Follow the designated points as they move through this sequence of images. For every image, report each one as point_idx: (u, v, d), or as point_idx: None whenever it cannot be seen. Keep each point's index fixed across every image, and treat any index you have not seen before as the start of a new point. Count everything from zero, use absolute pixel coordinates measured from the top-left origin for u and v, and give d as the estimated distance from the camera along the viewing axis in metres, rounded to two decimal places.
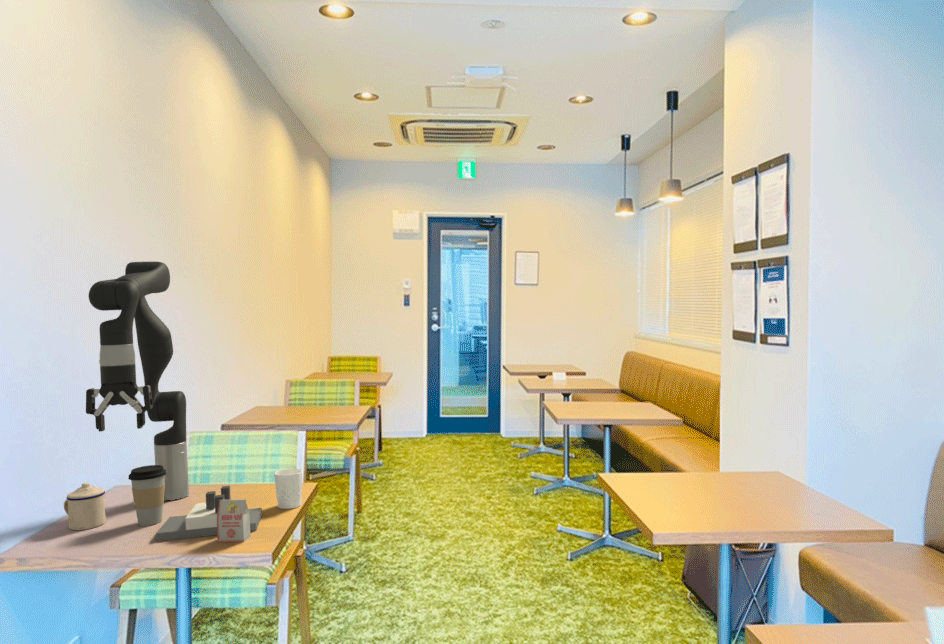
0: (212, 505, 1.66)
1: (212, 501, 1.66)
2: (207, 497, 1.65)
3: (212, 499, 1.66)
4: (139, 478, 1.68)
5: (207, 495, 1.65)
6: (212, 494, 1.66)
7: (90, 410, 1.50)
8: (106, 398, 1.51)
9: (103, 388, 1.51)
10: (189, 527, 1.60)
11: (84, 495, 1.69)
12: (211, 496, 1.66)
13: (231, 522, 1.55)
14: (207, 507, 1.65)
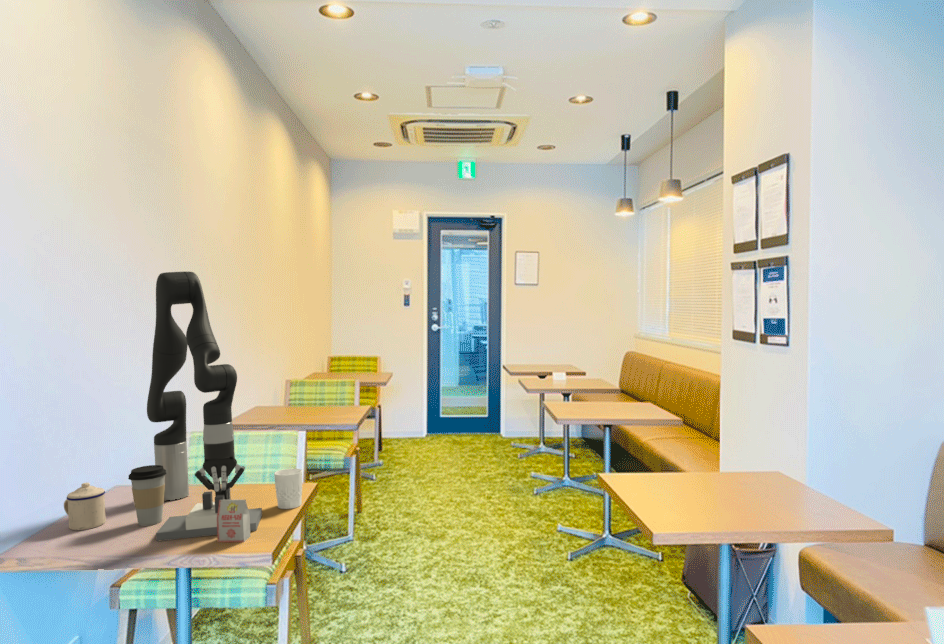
0: (209, 505, 1.65)
1: (209, 501, 1.65)
2: (204, 497, 1.65)
3: (209, 499, 1.65)
4: (139, 478, 1.68)
5: (204, 495, 1.65)
6: (209, 494, 1.66)
7: (210, 485, 1.66)
8: (213, 474, 1.65)
9: (204, 464, 1.65)
10: (189, 527, 1.60)
11: (84, 495, 1.69)
12: (208, 496, 1.65)
13: (231, 522, 1.55)
14: (204, 507, 1.65)
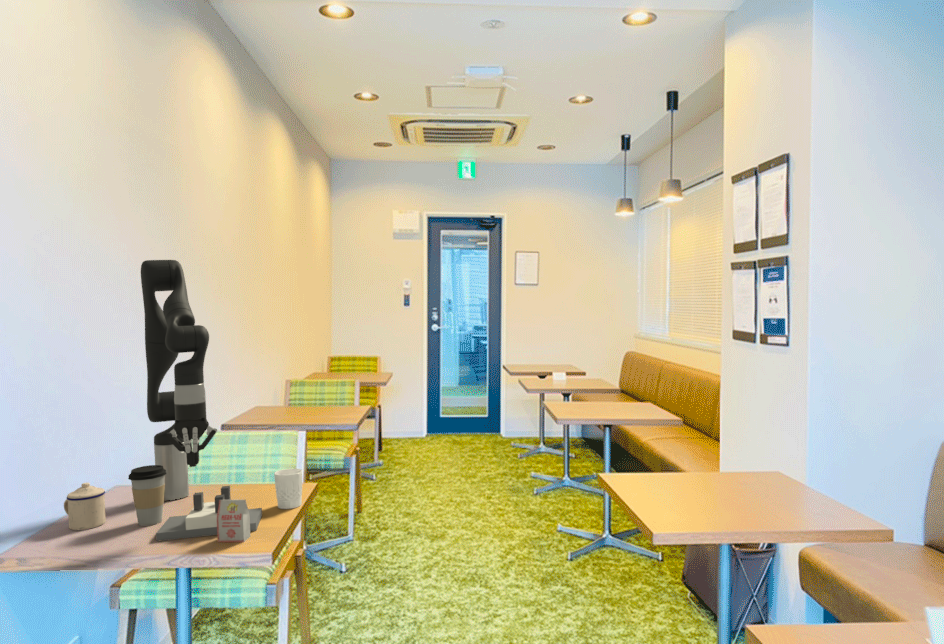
0: (200, 506, 1.65)
1: (200, 502, 1.65)
2: (195, 498, 1.65)
3: (200, 500, 1.65)
4: (139, 478, 1.68)
5: (195, 496, 1.65)
6: (200, 495, 1.65)
7: (181, 447, 1.64)
8: (184, 435, 1.64)
9: (175, 425, 1.64)
10: (189, 527, 1.60)
11: (84, 495, 1.69)
12: (199, 497, 1.65)
13: (231, 522, 1.55)
14: (195, 508, 1.65)
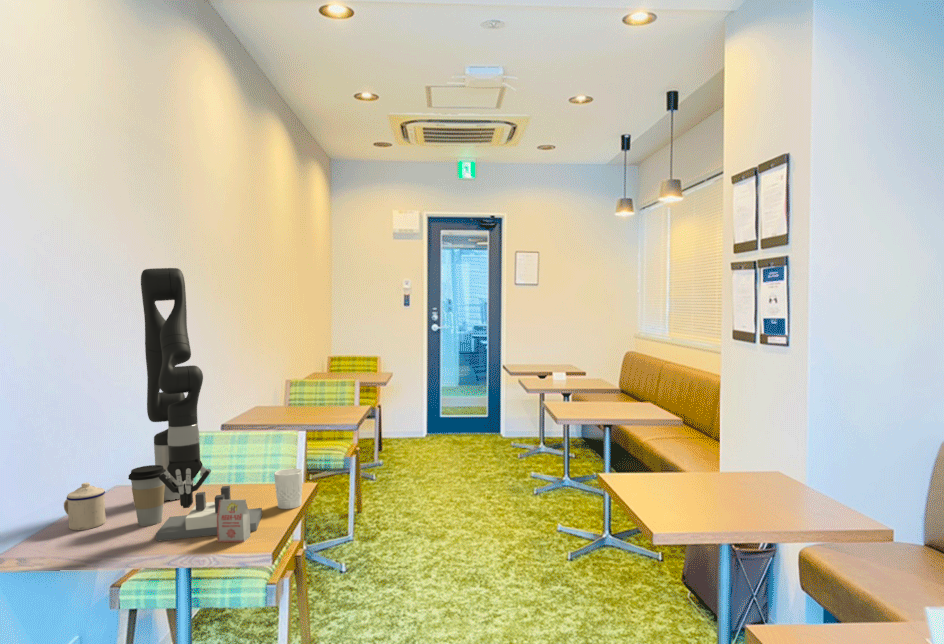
0: (202, 506, 1.65)
1: (202, 502, 1.65)
2: (197, 498, 1.65)
3: (202, 500, 1.65)
4: (139, 478, 1.68)
5: (197, 496, 1.65)
6: (202, 495, 1.65)
7: (174, 488, 1.64)
8: (177, 476, 1.63)
9: (169, 466, 1.63)
10: (189, 527, 1.60)
11: (84, 495, 1.69)
12: (201, 497, 1.65)
13: (231, 522, 1.55)
14: (197, 508, 1.65)
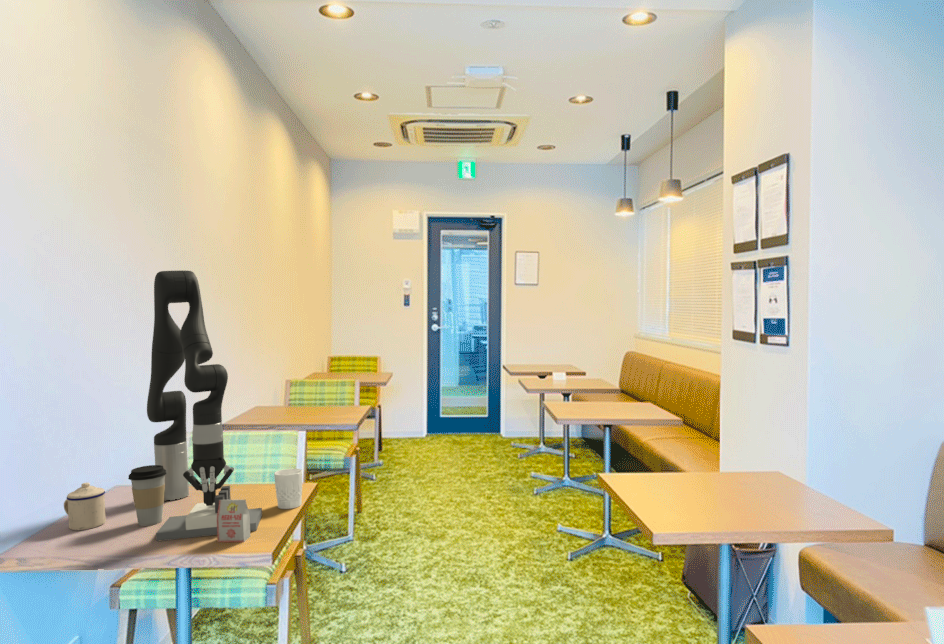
0: None
1: None
2: None
3: (225, 498, 1.66)
4: (139, 478, 1.68)
5: (220, 494, 1.66)
6: (225, 493, 1.66)
7: (198, 486, 1.65)
8: (201, 474, 1.64)
9: (193, 464, 1.65)
10: (189, 527, 1.60)
11: (84, 495, 1.69)
12: (224, 495, 1.66)
13: (231, 522, 1.55)
14: None
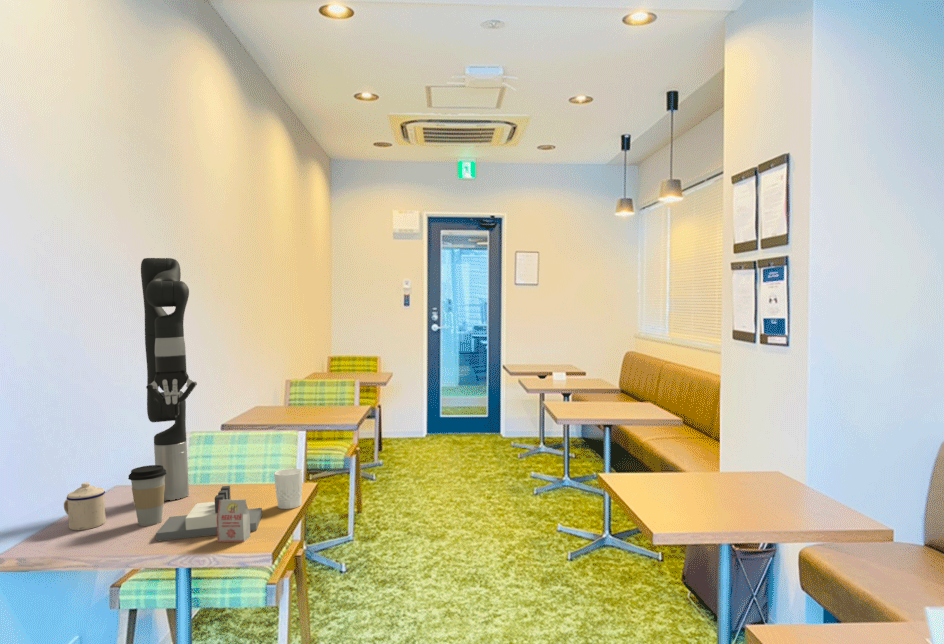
0: None
1: None
2: None
3: None
4: (139, 478, 1.68)
5: (219, 494, 1.66)
6: (224, 493, 1.66)
7: (161, 398, 1.69)
8: (164, 386, 1.69)
9: (156, 377, 1.69)
10: (189, 527, 1.60)
11: (84, 495, 1.69)
12: None
13: (231, 522, 1.55)
14: None
